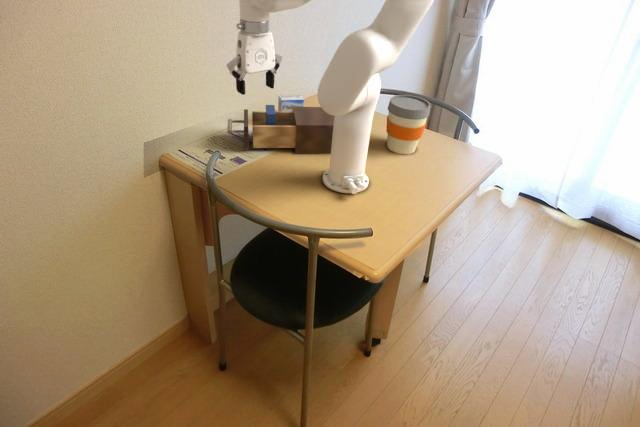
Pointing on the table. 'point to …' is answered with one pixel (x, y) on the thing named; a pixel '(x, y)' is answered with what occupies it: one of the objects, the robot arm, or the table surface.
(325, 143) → the cabinet
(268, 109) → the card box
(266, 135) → the drawer
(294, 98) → the medicine box
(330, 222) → the table surface
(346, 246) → the table surface
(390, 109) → the reusable coffee cup
